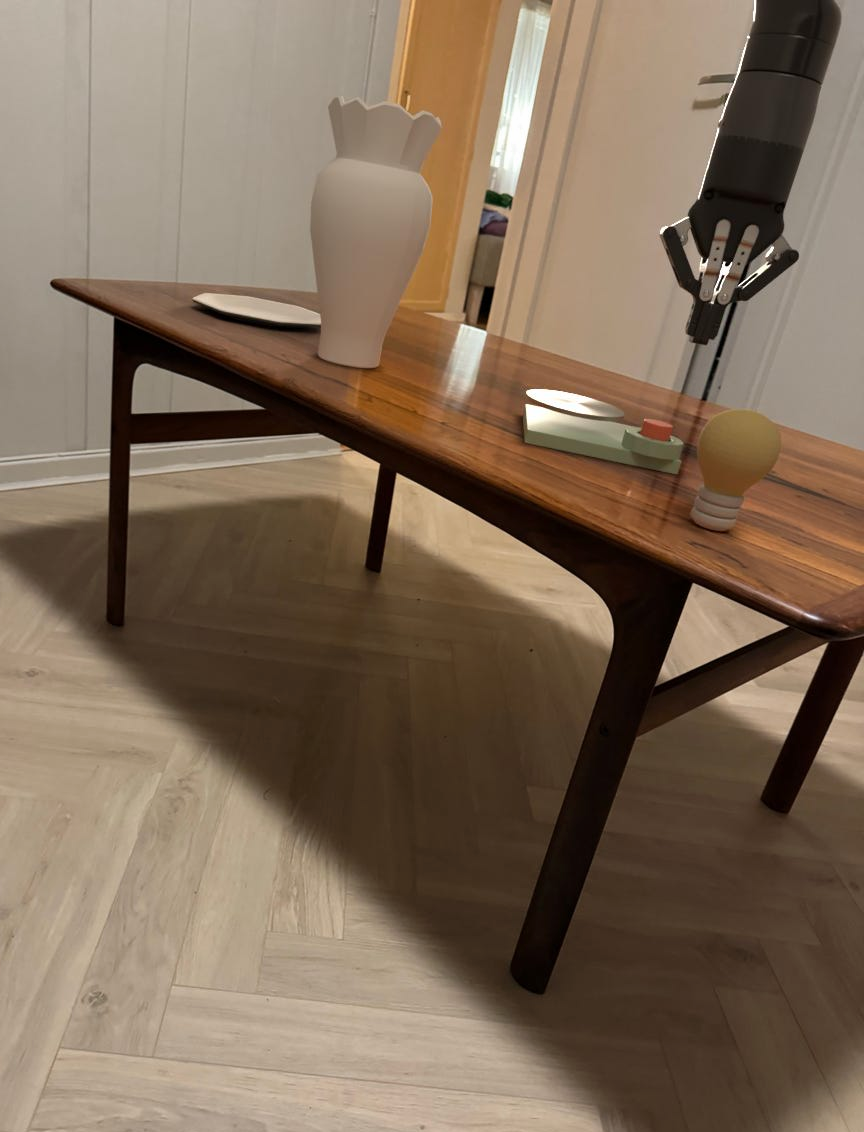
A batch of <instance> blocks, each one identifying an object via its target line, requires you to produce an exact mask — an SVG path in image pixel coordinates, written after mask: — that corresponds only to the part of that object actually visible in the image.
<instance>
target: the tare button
mask: <svg viewBox="0 0 864 1132" xmlns="http://www.w3.org/2000/svg"><path fill="white" fill-rule="evenodd" d="M641 428H642V429H641V432H640V435H642V436H644V437H648V438H651V439H655V440H660V441H668V442H669V439H670V435H671V436H672V432H673V428H674V426H673V425H672V424H671V423H668V422H665V421H662V420H660V419H654V418H645V419H644V420H643V422H642V426H641Z"/></svg>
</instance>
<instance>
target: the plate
mask: <svg viewBox="0 0 864 1132" xmlns="http://www.w3.org/2000/svg"><path fill="white" fill-rule="evenodd" d="M191 301H192V302H193V303H194V304H197V305H199V306H201V307H204V308H207V309H210V310H212V311H214V312H216V313H218V314H221V315H222V316H223V315H224V316H226V317H228V318H230V319H233V320H237V321H241V322H246V323H251V324H256V325H262V326H266V327H274V328H288V329H289V328H291V329H302V328H309V327H312V328H313V327H314V328H321V318H320V313H318V312H316V311H313V310H310V309H307V308H305V307H302V306H299V305H294V304H290V303H289V304H288V303H284V302H279V301H273V300H268V299H263V298H258V297H253V296H246V295H235V294H223V293H212V292H204V293H201V294H199V295H196V296H194V297H192V298H191Z"/></svg>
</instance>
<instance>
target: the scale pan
mask: <svg viewBox="0 0 864 1132" xmlns="http://www.w3.org/2000/svg"><path fill="white" fill-rule="evenodd" d="M525 399H526V400H527V401H529V402H530V403H532V404H534V405H535V406H538V407H543V408H546V409H549V410H552V411H555V412H559V413H562V414H566V415H570V416H575V417H579V418H585V419H590V420H598V421H610V422H620V421H623V420H624V418H625V415H626V414H625V412H624V411H623V410H622V409H621V408H618V407H617V406H615V405H612V404H610V403H607V402H604V401H601V400H598V399H594V398H591V397H588V396H583V395H579V394H575V393H569V392H566V391H565V392H564V391H558V390H551V389H550V390H549V389H529V390H527V391H526V393H525Z"/></svg>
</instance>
